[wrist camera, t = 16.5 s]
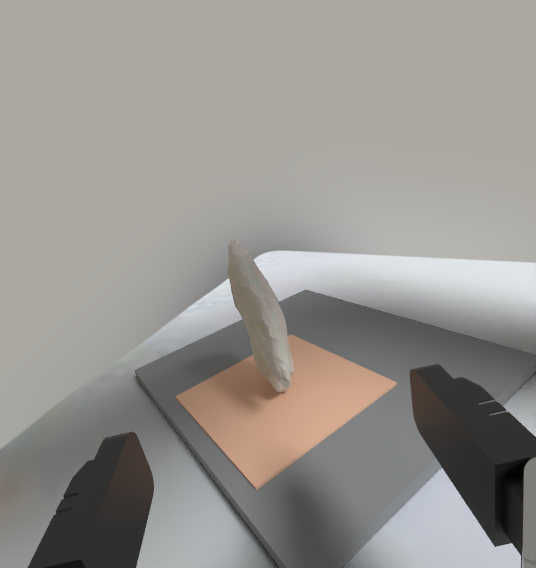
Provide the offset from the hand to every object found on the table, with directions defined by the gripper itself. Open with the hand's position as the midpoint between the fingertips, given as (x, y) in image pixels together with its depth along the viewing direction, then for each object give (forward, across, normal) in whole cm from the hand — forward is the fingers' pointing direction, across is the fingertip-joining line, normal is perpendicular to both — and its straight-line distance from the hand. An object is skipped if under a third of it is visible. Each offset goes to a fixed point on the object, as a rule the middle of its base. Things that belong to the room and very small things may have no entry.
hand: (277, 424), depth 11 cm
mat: (+14, -2, +8) cm, 16 cm away
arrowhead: (+11, 0, +7) cm, 13 cm away
